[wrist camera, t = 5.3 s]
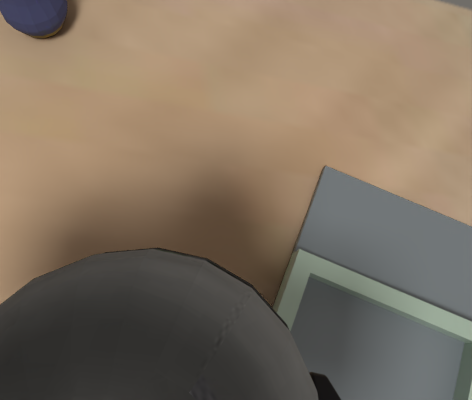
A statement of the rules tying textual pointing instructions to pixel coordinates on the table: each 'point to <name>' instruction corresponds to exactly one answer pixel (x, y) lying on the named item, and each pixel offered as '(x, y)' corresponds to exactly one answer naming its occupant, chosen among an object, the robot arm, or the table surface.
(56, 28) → the rubber mallet
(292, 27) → the table surface
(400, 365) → the socket board
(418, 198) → the table surface
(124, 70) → the table surface
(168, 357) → the beverage cup
